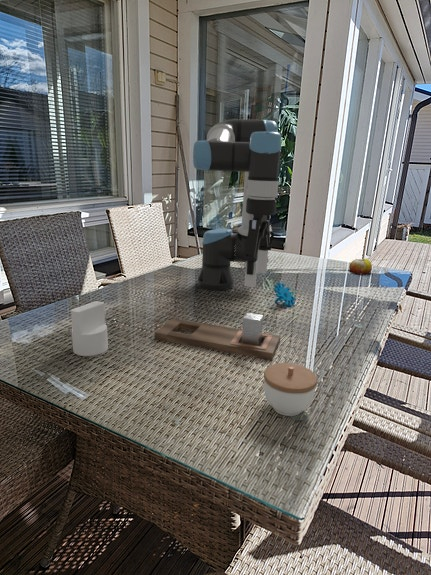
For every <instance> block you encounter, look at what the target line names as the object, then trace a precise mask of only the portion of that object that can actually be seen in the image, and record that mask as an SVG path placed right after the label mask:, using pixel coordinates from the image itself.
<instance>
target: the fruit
mask: <svg viewBox="0 0 431 575" xmlns="http://www.w3.org/2000/svg"><path fill="white" fill-rule="evenodd" d="M348 269H349V271H350V272H352V273H354V274H358V275H370V274H371V272H372V270H373V265H372V262H371V261H370V260H369V259H367V258H355V259H353V260H352V261H350V263H349V266H348Z"/></svg>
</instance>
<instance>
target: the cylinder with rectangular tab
mask: <svg viewBox="0 0 431 575" xmlns="http://www.w3.org/2000/svg"><path fill="white" fill-rule="evenodd" d="M105 306H106V305H105V302H102V301H100V300H96V301H92V302H89V303H87V304H83V305H81V306H78V307H75V308H72V309H70V316H71V340H72V352H73V353H74V354H76V355H78V356H82V357H83V356H84V357H93V356H97V355H100V354H103V353H105V352H106V351H107V350H108V349H109V343H108V342H109V339H108V326H107V324H106V307H105Z"/></svg>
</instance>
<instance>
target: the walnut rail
mask: <svg viewBox="0 0 431 575" xmlns="http://www.w3.org/2000/svg"><path fill="white" fill-rule="evenodd" d="M179 330H183V331H188V332H193V333H192V334H189V333H186V332H185V333H183V332H179ZM242 333H243V329H242V328H241V329H240V328H235V327H230V326H222V325H216V324H209V323H203V322H199V321H192V320H186V319H179V318H173V317H171V319H169V320H168V321H166V323H165V324H163V325H162V326H160V327H159V328H158V329H157V330H156V331H155V332H154V340H159V341H164V342H169V343H176V344H181V345H186V346H193V347H197V348H203V349H209V350H214V351H219V352H226V353H230V354H235V355H242V356H245V357H246V356H248V357H253V358H258V359H263V360H269V361H273V359H274V356H275V354H276V353H277V350H278V348H279V345H280V343H281V335H279V334H278V335H277V334H272V333H266V332H265V333H264V332H262V338H261V346H254V345H249V344H243V343H242Z"/></svg>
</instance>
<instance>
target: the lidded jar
mask: <svg viewBox="0 0 431 575" xmlns="http://www.w3.org/2000/svg"><path fill="white" fill-rule="evenodd" d="M317 383H318V378H317V376H316V374H315V372H313V371H312V370H311V369H309V368H307V367H306V366H304V365H300V364H297V363H293V362H291V363H290V362H280V363H279V362H277V363H273V364H270V365H269V366H268V367H266V368H265V369H264V372H263V390H264V395H265V399H266V401H267V402H268V404H269V405H270V406H271V408H273V410H274V411H275V412H276V413H277V414H279V415H281V416H286V417H295V416H298V415H300V414H301V413H303V412H304V411H305V410H306V409H307V408H309V407H310V405H311V403H312V401H313V399H314V397H315V392H316V387H317Z"/></svg>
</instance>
